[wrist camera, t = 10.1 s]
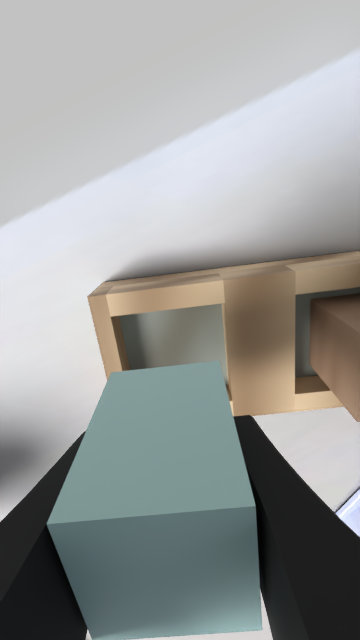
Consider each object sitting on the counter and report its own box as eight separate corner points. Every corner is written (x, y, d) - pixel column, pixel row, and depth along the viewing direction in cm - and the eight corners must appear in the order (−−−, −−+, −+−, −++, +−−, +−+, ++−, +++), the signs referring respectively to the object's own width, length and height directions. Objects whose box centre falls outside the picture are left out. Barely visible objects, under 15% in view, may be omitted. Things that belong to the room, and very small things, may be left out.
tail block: (219, 360, 10) (256, 505, 5) (226, 447, 11) (262, 630, 6) (111, 372, 10) (46, 524, 5) (130, 456, 11) (92, 641, 6)
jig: (469, 236, 15) (530, 242, 12) (444, 364, 17) (490, 391, 14) (102, 282, 15) (87, 296, 13) (127, 397, 18) (119, 429, 15)
